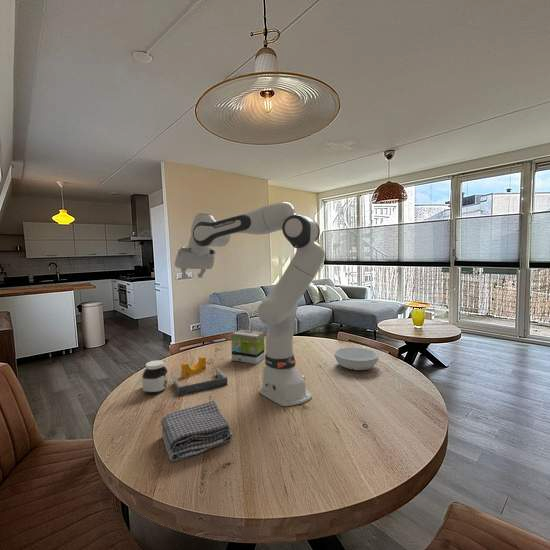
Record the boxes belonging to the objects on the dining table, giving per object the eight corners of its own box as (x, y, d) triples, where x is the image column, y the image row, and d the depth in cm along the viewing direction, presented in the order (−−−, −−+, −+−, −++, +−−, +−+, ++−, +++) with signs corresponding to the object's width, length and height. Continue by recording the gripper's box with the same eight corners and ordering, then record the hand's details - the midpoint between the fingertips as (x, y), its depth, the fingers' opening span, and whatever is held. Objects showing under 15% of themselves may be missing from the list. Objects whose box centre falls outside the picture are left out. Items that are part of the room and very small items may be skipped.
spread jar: (157, 397, 117) (155, 368, 116) (131, 394, 119) (130, 366, 118) (173, 384, 128) (172, 357, 128) (149, 382, 131) (148, 356, 130)
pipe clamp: (200, 368, 147) (199, 355, 146) (206, 370, 144) (205, 357, 144) (179, 376, 137) (179, 362, 137) (185, 378, 135) (184, 364, 134)
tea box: (231, 361, 156) (230, 333, 155) (240, 355, 165) (240, 329, 164) (256, 364, 150) (256, 336, 149) (265, 358, 160) (264, 331, 159)
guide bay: (227, 384, 127) (227, 377, 127) (179, 395, 118) (178, 388, 118) (218, 374, 139) (217, 368, 138) (173, 383, 129) (173, 376, 129)
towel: (160, 437, 91) (159, 412, 91) (217, 419, 101) (216, 397, 100) (170, 467, 78) (169, 438, 78) (234, 443, 88) (234, 418, 87)
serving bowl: (387, 368, 143) (387, 354, 143) (358, 379, 132) (358, 364, 131) (353, 356, 160) (353, 344, 160) (325, 365, 149) (325, 351, 148)
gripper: (184, 248, 125) (178, 280, 127) (218, 251, 142) (212, 279, 145) (174, 245, 129) (169, 275, 131) (209, 248, 146) (203, 275, 148)
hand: (192, 277), depth 138 cm, fingers open, 8 cm apart
